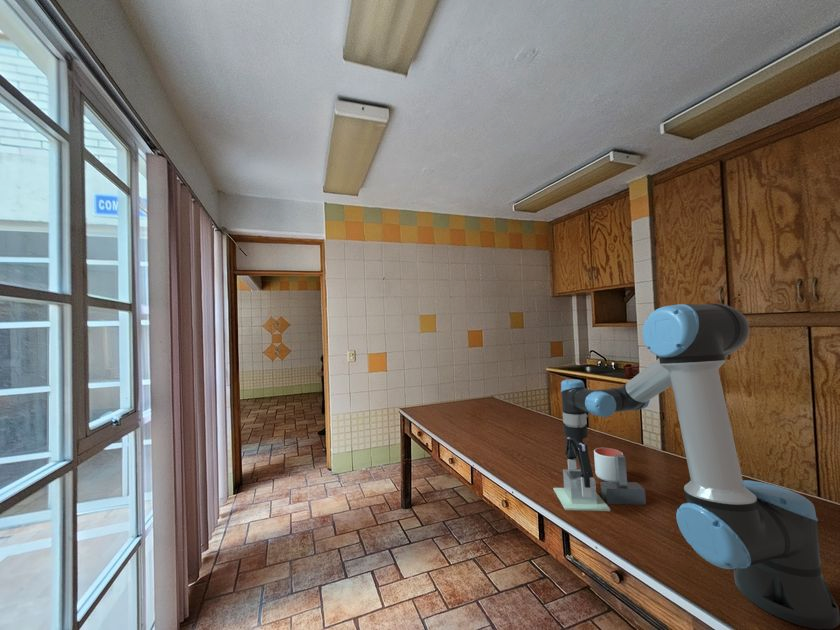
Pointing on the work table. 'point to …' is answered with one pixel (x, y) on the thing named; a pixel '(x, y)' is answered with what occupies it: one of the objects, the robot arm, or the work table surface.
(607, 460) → the cup
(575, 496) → the collar
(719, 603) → the work table surface
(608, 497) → the grey block
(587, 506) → the mat
